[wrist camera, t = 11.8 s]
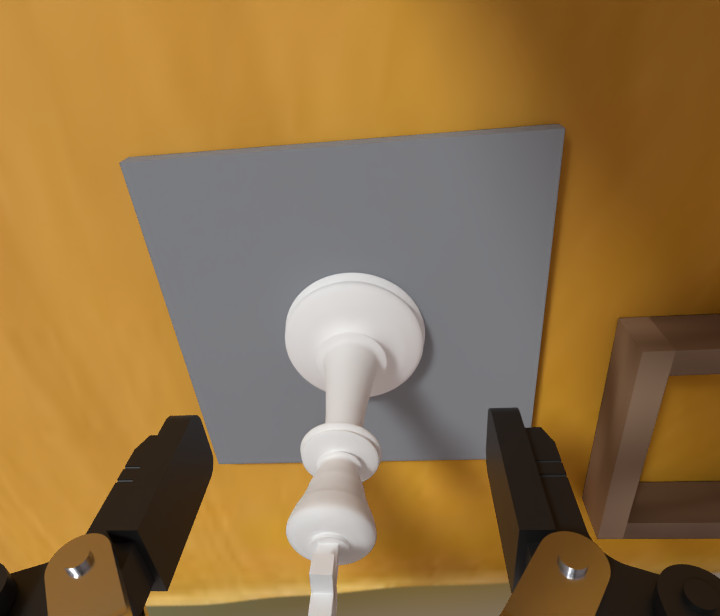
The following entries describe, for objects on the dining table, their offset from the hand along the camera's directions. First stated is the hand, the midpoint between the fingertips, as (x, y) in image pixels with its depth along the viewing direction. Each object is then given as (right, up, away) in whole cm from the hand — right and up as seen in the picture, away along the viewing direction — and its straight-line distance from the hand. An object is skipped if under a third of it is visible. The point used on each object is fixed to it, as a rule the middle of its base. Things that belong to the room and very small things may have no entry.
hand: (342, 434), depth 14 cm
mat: (0, +3, +5) cm, 6 cm away
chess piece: (0, +3, +4) cm, 5 cm away
